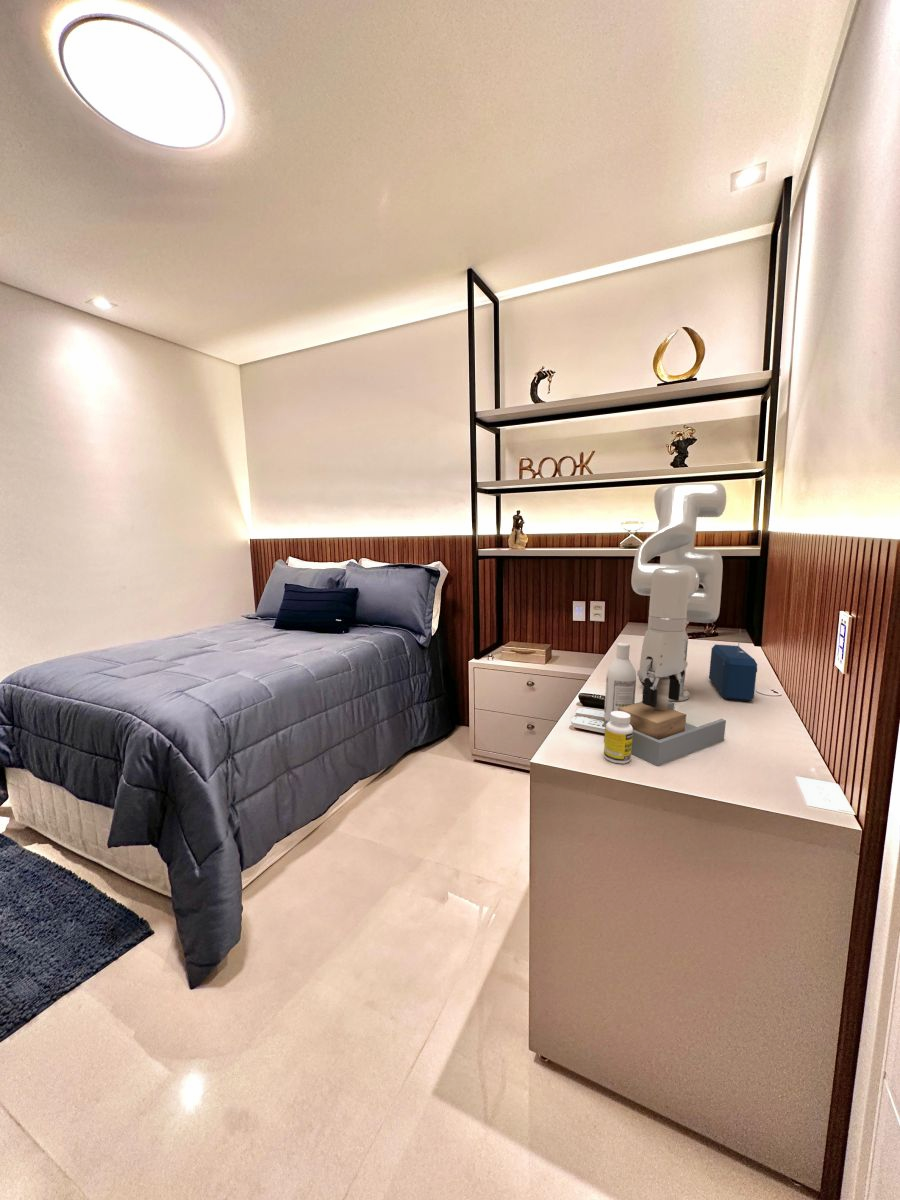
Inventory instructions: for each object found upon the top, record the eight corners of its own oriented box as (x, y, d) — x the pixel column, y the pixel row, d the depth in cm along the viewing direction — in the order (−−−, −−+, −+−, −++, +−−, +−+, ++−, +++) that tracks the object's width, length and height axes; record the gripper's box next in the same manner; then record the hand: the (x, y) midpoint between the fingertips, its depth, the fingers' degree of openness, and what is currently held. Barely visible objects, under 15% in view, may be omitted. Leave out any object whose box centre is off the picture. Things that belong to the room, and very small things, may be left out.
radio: (757, 704, 140) (765, 634, 137) (723, 701, 142) (729, 631, 139) (737, 682, 160) (743, 620, 157) (707, 679, 162) (712, 618, 159)
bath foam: (639, 724, 124) (645, 645, 121) (618, 729, 121) (623, 648, 118) (618, 715, 131) (623, 639, 128) (597, 719, 128) (602, 642, 125)
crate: (615, 737, 114) (619, 677, 112) (644, 728, 119) (648, 671, 117) (654, 755, 105) (659, 690, 103) (683, 744, 110) (689, 683, 108)
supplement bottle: (627, 766, 102) (630, 721, 101) (600, 760, 105) (603, 715, 104) (633, 756, 107) (636, 712, 106) (607, 750, 110) (610, 707, 108)
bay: (604, 740, 115) (605, 720, 114) (669, 720, 127) (670, 701, 127) (658, 766, 103) (659, 743, 102) (723, 740, 116) (725, 720, 115)
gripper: (675, 618, 117) (669, 691, 120) (626, 625, 108) (620, 703, 111) (706, 623, 111) (699, 700, 114) (656, 631, 102) (650, 715, 105)
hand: (660, 701), depth 112 cm, fingers open, 7 cm apart
